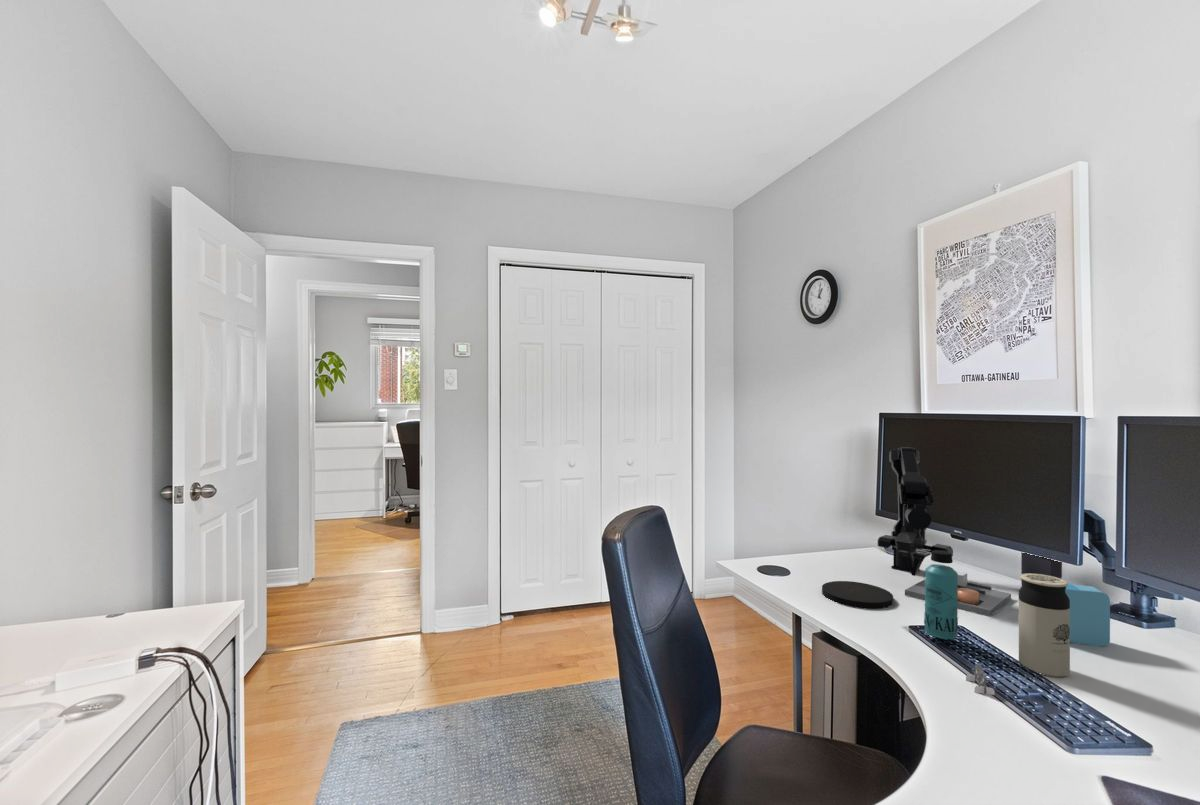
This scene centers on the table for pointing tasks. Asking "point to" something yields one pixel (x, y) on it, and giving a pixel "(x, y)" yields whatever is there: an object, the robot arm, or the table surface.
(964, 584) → the white cube
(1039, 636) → the travel mug
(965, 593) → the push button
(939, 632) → the beverage bottle
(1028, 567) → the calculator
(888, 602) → the wireless charger
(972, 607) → the grey railed board
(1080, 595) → the data package
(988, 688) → the grey lobed figure
